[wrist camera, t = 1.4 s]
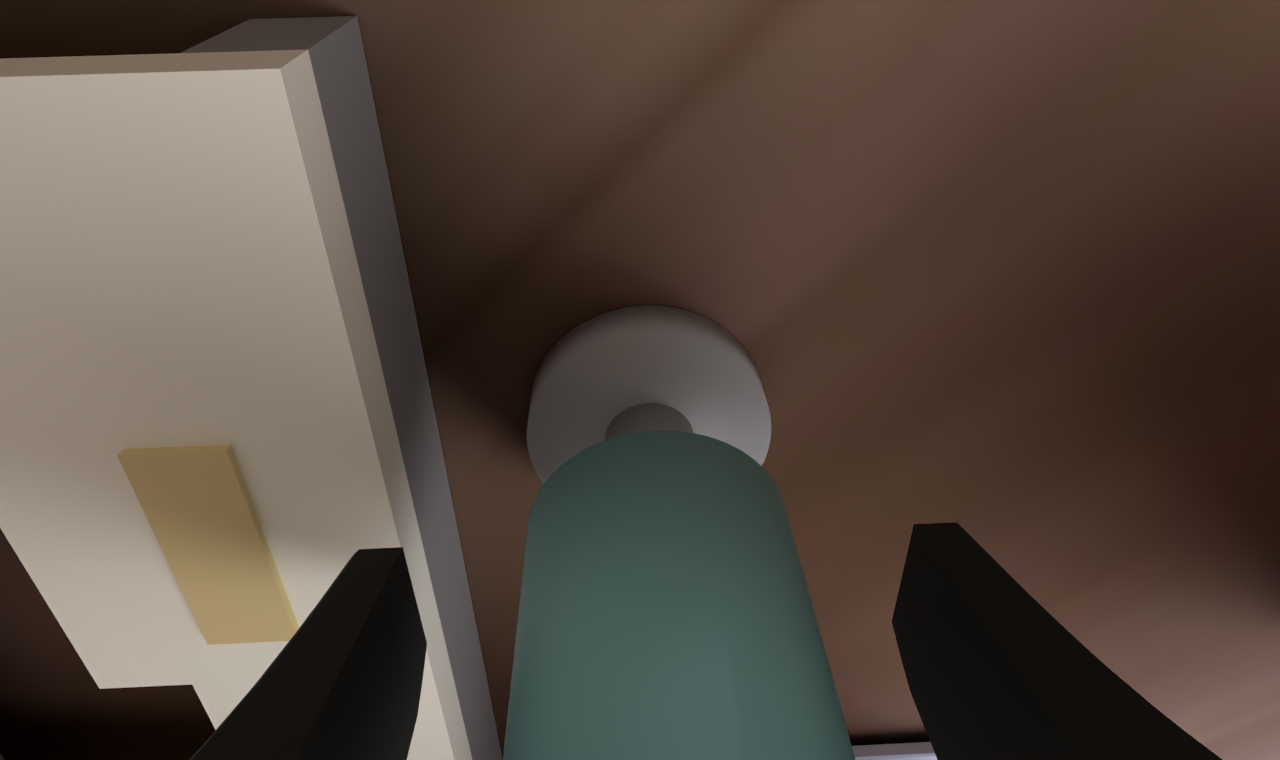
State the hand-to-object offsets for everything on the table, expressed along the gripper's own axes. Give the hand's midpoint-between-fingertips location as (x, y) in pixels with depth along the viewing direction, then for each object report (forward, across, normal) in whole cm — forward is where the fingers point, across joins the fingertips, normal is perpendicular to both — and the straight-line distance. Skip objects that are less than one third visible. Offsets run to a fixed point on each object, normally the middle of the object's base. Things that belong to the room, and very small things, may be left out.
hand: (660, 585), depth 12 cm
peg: (+4, 0, 0) cm, 5 cm away
